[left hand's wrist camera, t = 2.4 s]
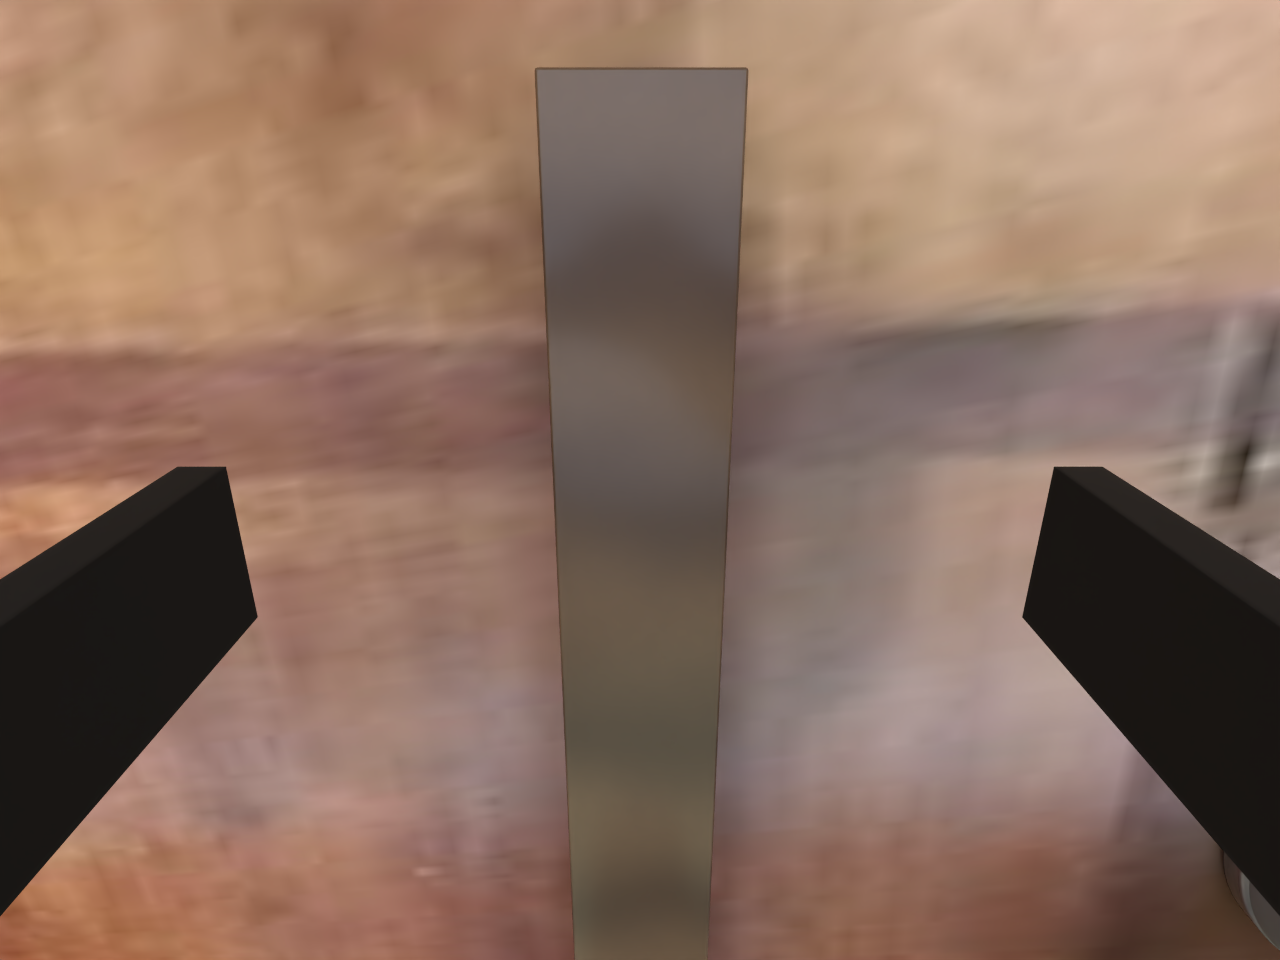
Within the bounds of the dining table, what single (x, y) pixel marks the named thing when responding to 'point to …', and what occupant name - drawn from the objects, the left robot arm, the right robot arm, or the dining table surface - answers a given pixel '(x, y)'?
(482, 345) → the dining table surface
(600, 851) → the wooden plank
